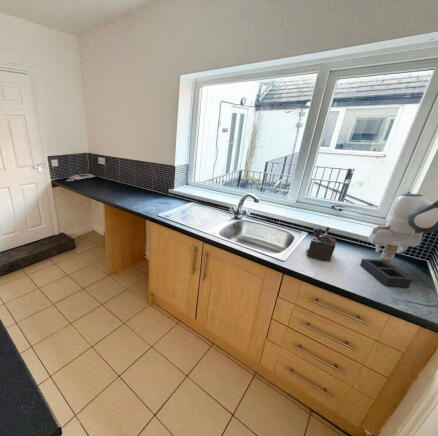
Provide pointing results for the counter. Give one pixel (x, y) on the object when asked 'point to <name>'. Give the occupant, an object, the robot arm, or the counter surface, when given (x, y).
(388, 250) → the sprinkles bottle
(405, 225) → the robot arm
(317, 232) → the brown coffee grinder
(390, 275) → the holder
